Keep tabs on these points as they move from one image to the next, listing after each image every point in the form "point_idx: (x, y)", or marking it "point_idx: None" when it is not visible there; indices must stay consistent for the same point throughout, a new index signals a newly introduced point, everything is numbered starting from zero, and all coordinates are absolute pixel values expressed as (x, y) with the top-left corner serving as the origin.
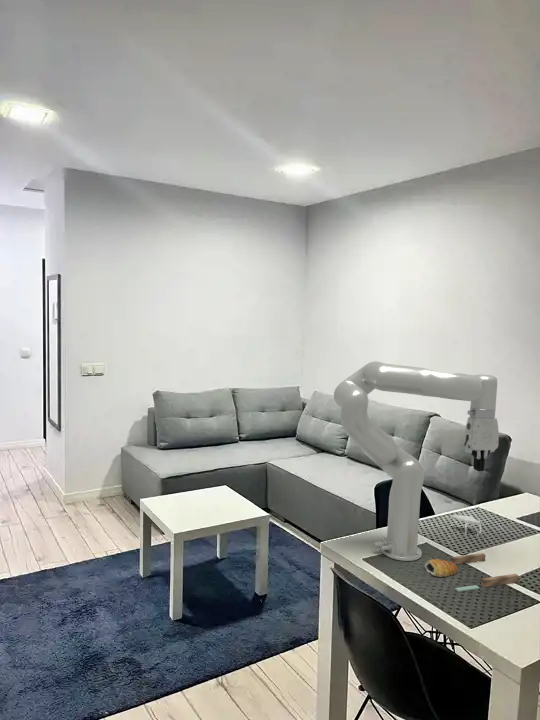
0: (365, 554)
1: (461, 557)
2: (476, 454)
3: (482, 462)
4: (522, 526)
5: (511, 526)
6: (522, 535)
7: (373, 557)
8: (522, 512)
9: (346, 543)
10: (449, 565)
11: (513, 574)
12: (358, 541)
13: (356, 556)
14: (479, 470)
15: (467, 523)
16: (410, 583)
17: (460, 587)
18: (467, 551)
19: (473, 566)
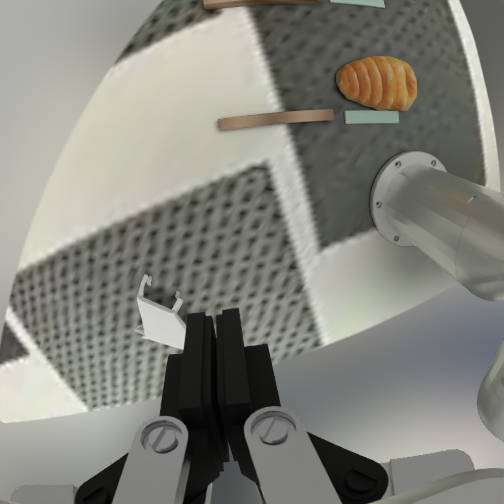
0: None
1: (304, 112)
2: (318, 463)
3: (207, 377)
4: (25, 316)
5: (47, 320)
6: (38, 271)
7: None
8: (13, 372)
9: None
10: (370, 68)
11: (213, 2)
12: None
13: None
14: (238, 314)
15: (173, 307)
16: (453, 62)
17: (372, 5)
18: (235, 184)
19: (273, 92)
